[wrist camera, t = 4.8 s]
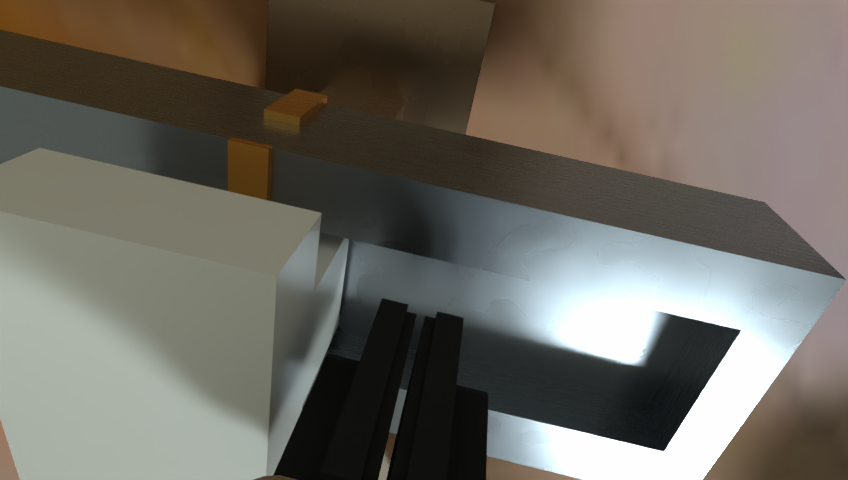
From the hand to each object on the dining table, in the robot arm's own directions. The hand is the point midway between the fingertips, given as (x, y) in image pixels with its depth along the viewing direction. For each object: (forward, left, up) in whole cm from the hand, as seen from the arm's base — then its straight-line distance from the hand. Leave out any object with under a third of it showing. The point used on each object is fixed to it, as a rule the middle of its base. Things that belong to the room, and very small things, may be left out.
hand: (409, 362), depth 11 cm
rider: (+3, +3, -2) cm, 5 cm away
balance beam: (+3, +3, -13) cm, 13 cm away
